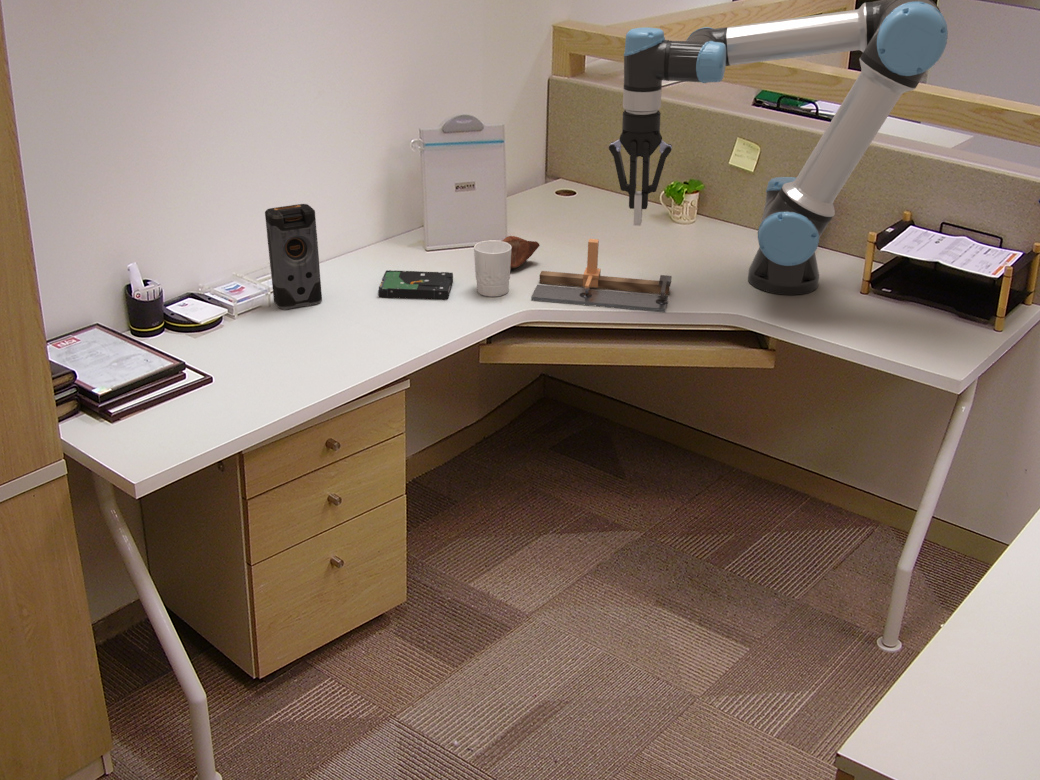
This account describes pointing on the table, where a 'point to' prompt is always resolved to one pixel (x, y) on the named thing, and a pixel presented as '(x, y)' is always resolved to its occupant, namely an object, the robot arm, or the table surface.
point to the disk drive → (416, 285)
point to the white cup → (492, 267)
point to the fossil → (520, 250)
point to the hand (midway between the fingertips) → (637, 223)
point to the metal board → (600, 298)
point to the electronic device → (293, 256)
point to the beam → (610, 282)
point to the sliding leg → (591, 266)
